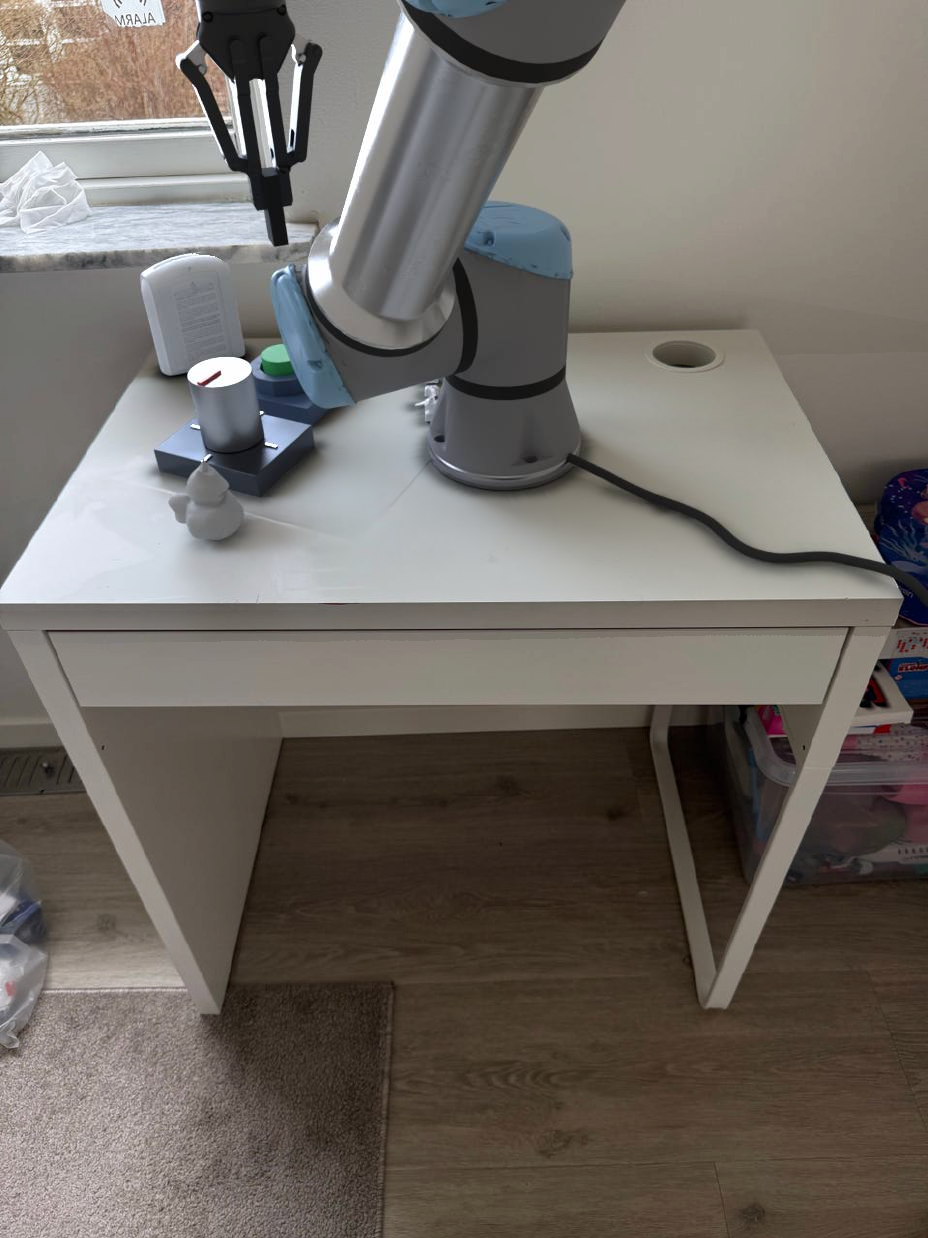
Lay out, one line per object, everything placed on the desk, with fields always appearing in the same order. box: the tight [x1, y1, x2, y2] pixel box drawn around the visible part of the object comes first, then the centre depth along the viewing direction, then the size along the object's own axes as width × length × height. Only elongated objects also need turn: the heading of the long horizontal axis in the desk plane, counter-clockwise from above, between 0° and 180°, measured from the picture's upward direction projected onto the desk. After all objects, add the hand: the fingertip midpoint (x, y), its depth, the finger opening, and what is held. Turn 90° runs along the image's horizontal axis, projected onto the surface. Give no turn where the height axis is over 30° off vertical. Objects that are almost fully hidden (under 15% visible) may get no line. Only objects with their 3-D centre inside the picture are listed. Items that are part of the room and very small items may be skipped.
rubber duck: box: [167, 458, 245, 541], centre depth 83 cm, size 5×7×8 cm
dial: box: [186, 357, 264, 453], centre depth 91 cm, size 6×6×7 cm
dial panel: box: [153, 411, 315, 498], centre depth 94 cm, size 12×10×3 cm
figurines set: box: [414, 379, 440, 423], centre depth 103 cm, size 12×3×3 cm, turn 2°
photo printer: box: [139, 252, 246, 377], centre depth 107 cm, size 10×4×12 cm, turn 123°
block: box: [249, 354, 331, 426], centre depth 103 cm, size 11×9×4 cm
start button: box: [260, 343, 295, 376], centre depth 101 cm, size 4×4×2 cm
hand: (278, 240), depth 94 cm, fingers closed
